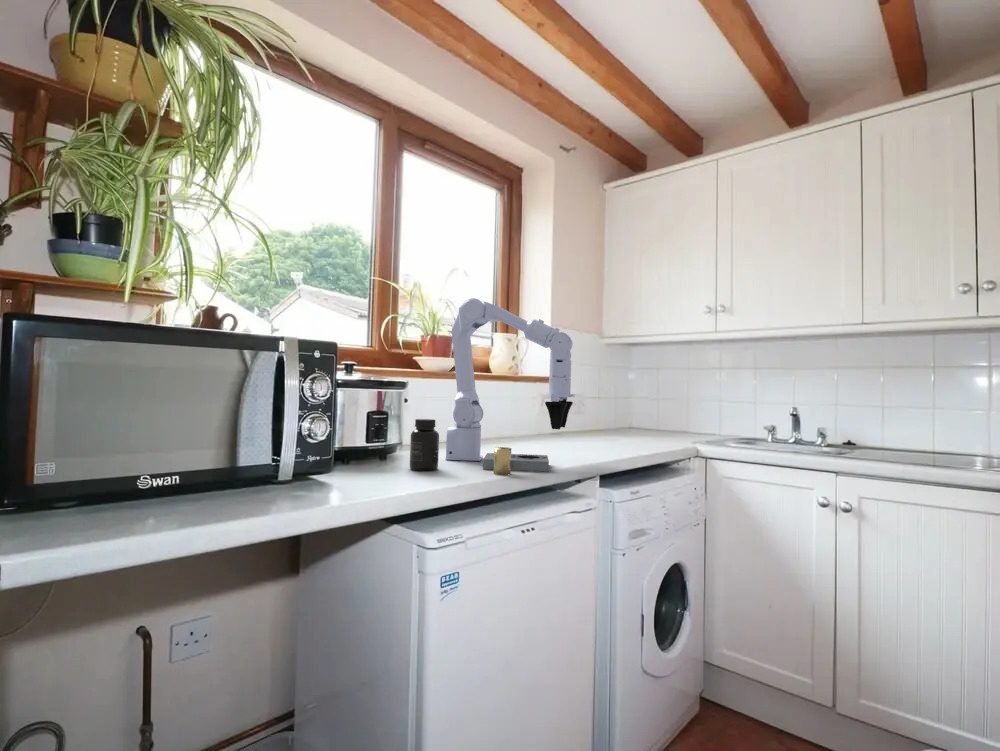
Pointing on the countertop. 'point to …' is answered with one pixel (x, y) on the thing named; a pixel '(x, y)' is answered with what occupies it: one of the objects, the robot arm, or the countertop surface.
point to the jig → (521, 462)
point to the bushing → (502, 460)
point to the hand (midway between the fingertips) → (558, 428)
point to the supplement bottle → (424, 446)
